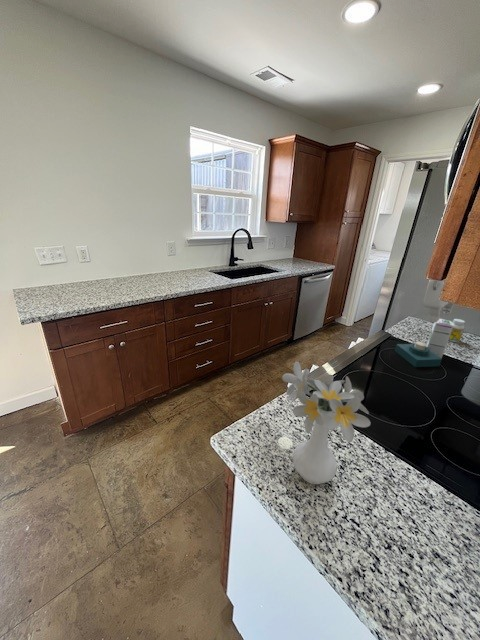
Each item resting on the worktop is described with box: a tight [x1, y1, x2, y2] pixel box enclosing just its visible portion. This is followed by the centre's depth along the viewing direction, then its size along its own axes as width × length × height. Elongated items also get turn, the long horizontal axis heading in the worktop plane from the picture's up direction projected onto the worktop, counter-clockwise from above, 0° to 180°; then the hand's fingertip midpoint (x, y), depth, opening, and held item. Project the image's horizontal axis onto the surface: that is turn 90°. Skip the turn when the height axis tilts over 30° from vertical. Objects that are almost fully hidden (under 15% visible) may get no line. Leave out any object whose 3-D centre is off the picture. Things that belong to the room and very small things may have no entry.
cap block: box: [394, 342, 443, 368], centre depth 104 cm, size 12×10×5 cm
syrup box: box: [426, 318, 453, 359], centre depth 106 cm, size 6×6×14 cm
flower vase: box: [281, 361, 371, 485], centre depth 54 cm, size 13×18×25 cm
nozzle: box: [414, 341, 427, 350], centre depth 103 cm, size 4×4×2 cm
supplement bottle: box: [448, 318, 466, 343], centre depth 119 cm, size 5×5×10 cm
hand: (440, 317), depth 73 cm, fingers open, 8 cm apart
